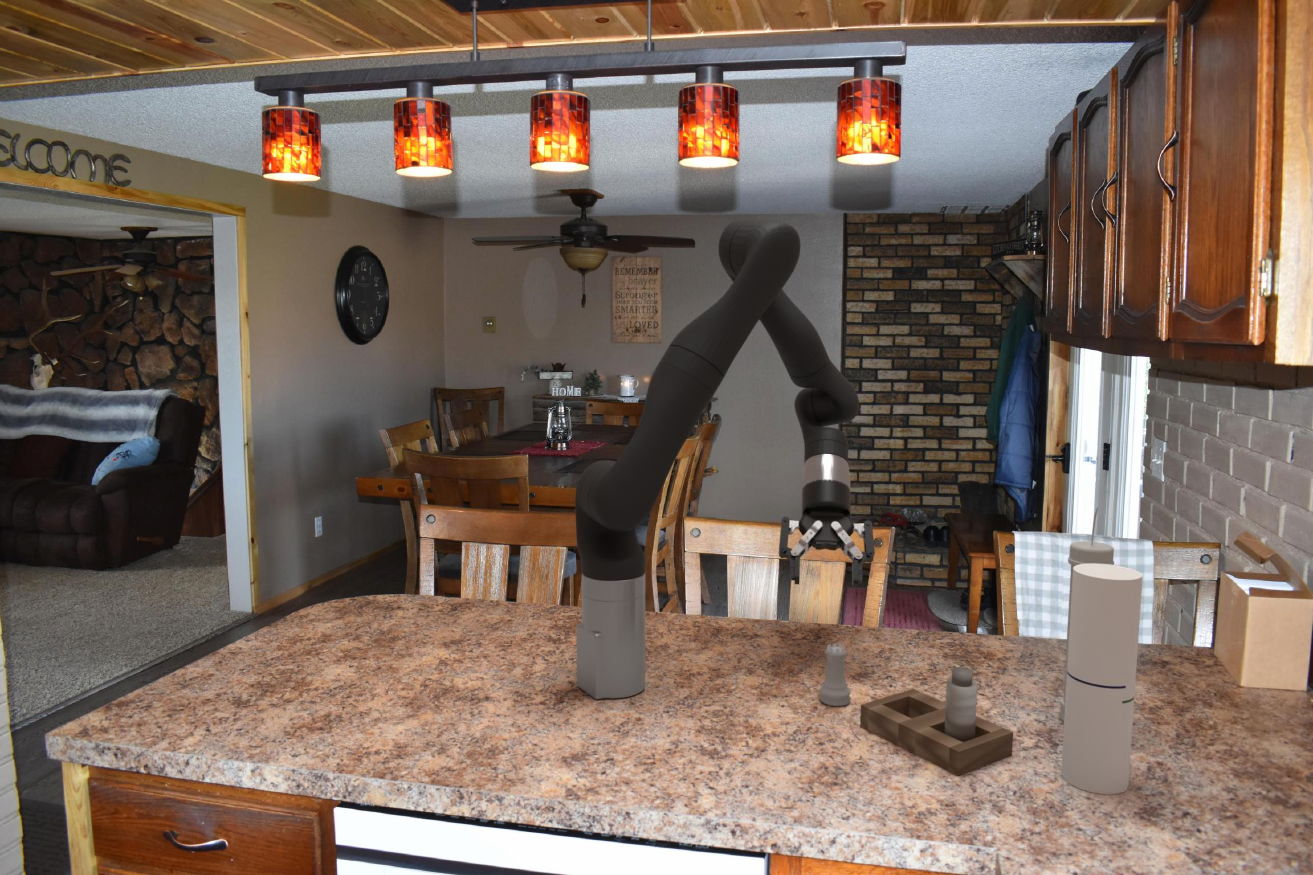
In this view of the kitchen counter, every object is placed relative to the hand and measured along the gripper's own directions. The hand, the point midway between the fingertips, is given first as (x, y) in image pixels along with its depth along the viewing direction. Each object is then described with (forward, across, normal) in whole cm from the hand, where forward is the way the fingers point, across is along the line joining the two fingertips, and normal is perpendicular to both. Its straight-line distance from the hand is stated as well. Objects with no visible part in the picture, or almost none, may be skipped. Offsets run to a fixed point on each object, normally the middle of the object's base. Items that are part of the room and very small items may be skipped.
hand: (826, 584), depth 137 cm
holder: (+23, +13, -5) cm, 27 cm away
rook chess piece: (+17, +1, +3) cm, 17 cm away
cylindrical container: (+28, +30, -11) cm, 43 cm away
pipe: (+18, +34, +1) cm, 38 cm away
